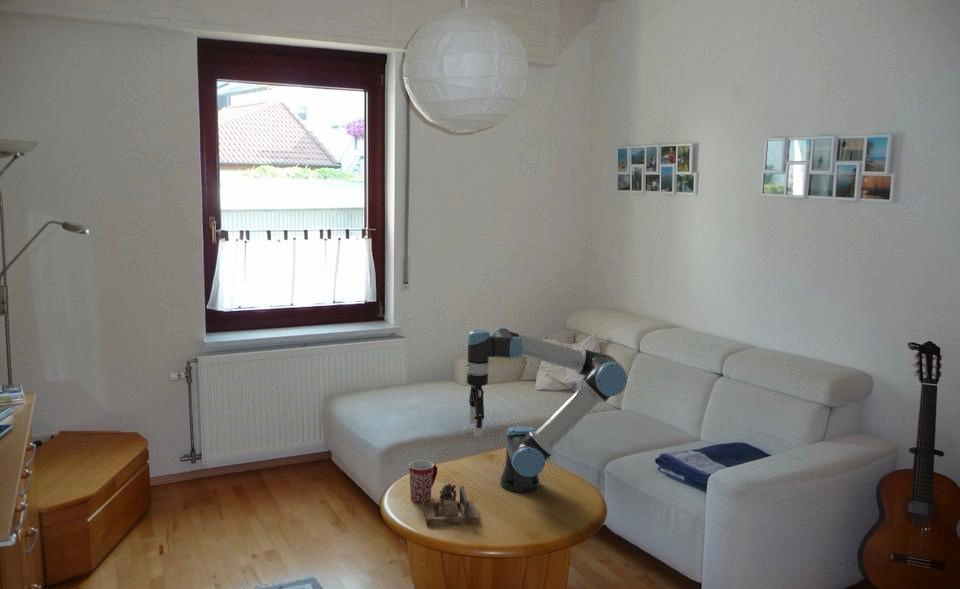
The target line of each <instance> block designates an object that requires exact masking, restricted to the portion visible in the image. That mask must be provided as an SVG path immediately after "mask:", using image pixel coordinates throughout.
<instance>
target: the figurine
mask: <svg viewBox="0 0 960 589" xmlns="http://www.w3.org/2000/svg"><path fill="white" fill-rule="evenodd" d="M456 487H457V486H456V485H455V484H453V485H452V484H451V483H449V482H448V483H445V485H443V486H442V488H441V490H440V491H439V494H440V496H439V499H440V501H439V502H440V504H439V509H438V510H437V517H452V516H459V509H458V507H457V501H458V500H457V496H458V495H457V490H456Z"/></svg>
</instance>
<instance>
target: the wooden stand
mask: <svg viewBox="0 0 960 589" xmlns="http://www.w3.org/2000/svg"><path fill="white" fill-rule="evenodd" d="M456 501H457V507H458V510H460V514H461V515H458V516H452V517H438V516H435V511H438V509H439V504H440V501H429V502H424V503H422V505H423V506H422V508H423V512H424V513H423V514H424V520H425V524H426V525H425V526H426V527H439V526H443V527H444V526H466V525H467V526H469V525H472V526H474V525H480V516H479V513H478V510H477V507H476V504H475V501H474V500H468V497H467V494H466V491H465V486H459V500H456Z"/></svg>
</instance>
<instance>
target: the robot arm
mask: <svg viewBox="0 0 960 589" xmlns="http://www.w3.org/2000/svg"><path fill="white" fill-rule="evenodd" d="M522 356H523V357H526V358H530V359H535V360H538V361H542V362H545V363H548V364H552V365H556V366H558V367H563V368H566V369H571V370H574V371H575V372H576V375H577V374H578V375H581V376H584V377H583V378H582V379H581V380H582V382H581V386H580V387H579V388H578V389H577V390H576V391H575V392H574V393H573V394H572V395H571V396H570V397H569V398H568V399H567V400H566V401H565V402H563V404H562V405H560V407H559V408H558V409H557V410H555V412H554V413H553V414H552V415H551V416H549V418H548V419H547V420H546V421H544V422H543V424H541V426H540V427H539V428H537V429H536V428H535V427H533V426H526V425H525V426H524V425H515V426H511V427H508V428H507V430H506V431H507V432H506V434H505V435H506V449H505V450H506V451H505V465H504V468H503V470H502V473H501V476H500V482H499V484H500V486H501V487H502V488H503V489H504V490H507V491H509V492H514V493H529V492H530V491H531V492H534V491H536V490H538V489H539V488H540V478H539V474H541V472H543V470H544V468H545V466H546V465H545V464H546V461H547V460H549V459H550V457H551V456H552V455H553V448H555V446H556V445H557V444H558V443H560V442H561V440H562V439H563V438H564V437H565V436H566V435H567V434H568V433H569V432H570V431H572V430H573V428H574V427H575V426H577V425H578V423H579V422H581V421H582V419H583V418H584V417H585V416H587V414H589V413H590V412H591V411H592V410H593V409H594V408H595V407H596V406H597V405H598V403H606V402H607V401H608V400H609V399H610V398H611V397H615V396H618V395H620V394H621V393H622V392H623V391H624V390H625V388H626V387H627V383H628V382H627V381H628V375H627V372H626V370H625V368H624V367H623V365H622V364H621V363H619V362H618V361H617V360H616V359H615V358H614V357H613V356H612V355H611V356H610V355H609V354H605V353H602V352H601V353H600V352H597V351H592V350H588V349H585V348H583V349H581V350H578V349H574V348H572V347H571V348H570V347H567V346H564V345H560V344H556V343H553V342H550V341H545V340H542V339H539V338H535V337H531V336H527V335H524V334H521V333H517V332H513V331H510V330H509V329H508V328H505V327H498V328H496V329H495V330H493V332H492V334H491V335H490V332H489V331H488V330H485V329H473V330H471V331H469V334H468V342H467V363H466V364H465V367H466V368H467V374H466V375H467V376H466V383H467V384H468V385H469V386H470V389H469V390H470V392H469V393H470V394H469V400H468V403H469V419H468V424H469V425H474V437H483V430H484V429H483V427H484V426H483V424H484V419H485V408H484V407H485V404H484V402H485V401H484V393H485V391H484V389H483V386H486V385H487V384H488V383H489V374H488V373H489V359H490V358H503V359H505V358H506V359H517V358H518V359H519V358H521V357H522ZM538 487H539V488H538ZM537 488H538V489H537Z"/></svg>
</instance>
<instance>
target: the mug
mask: <svg viewBox="0 0 960 589" xmlns="http://www.w3.org/2000/svg"><path fill="white" fill-rule="evenodd" d="M408 467H409V485H410V486H409V487H410V490H409V491H410V500H411V502H412V503H415V504H422V505H423V503H424V502H431V498H432V487H434V483H435V481H436V478H437V475H438V466H437V465H436V464H434V463H433V462H432V461H429V460H422V459H420V460H415V461H412V462H409V464H408Z"/></svg>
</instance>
